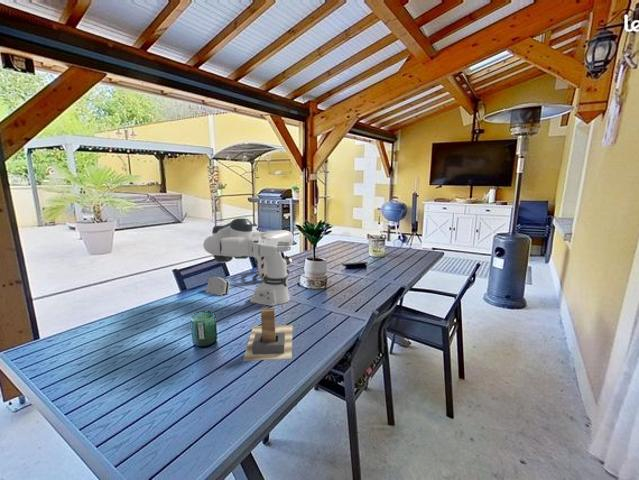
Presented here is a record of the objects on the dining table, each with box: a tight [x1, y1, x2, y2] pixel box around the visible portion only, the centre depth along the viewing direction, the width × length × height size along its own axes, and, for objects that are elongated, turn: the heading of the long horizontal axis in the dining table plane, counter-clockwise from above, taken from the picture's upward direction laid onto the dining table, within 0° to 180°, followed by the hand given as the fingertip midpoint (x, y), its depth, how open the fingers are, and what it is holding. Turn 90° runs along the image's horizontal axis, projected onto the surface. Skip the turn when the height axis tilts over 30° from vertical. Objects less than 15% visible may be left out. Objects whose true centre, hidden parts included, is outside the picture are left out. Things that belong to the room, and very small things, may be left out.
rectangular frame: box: [252, 333, 285, 354], centre depth 126 cm, size 10×12×4 cm
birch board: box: [242, 324, 294, 362], centre depth 131 cm, size 28×18×1 cm, turn 4°
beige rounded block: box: [204, 276, 231, 297], centre depth 191 cm, size 17×5×10 cm, turn 55°
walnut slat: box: [260, 307, 276, 342], centre depth 125 cm, size 3×5×16 cm, turn 94°
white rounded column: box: [253, 246, 293, 282], centre depth 223 cm, size 24×27×35 cm
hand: (288, 245), depth 139 cm, fingers open, 8 cm apart
